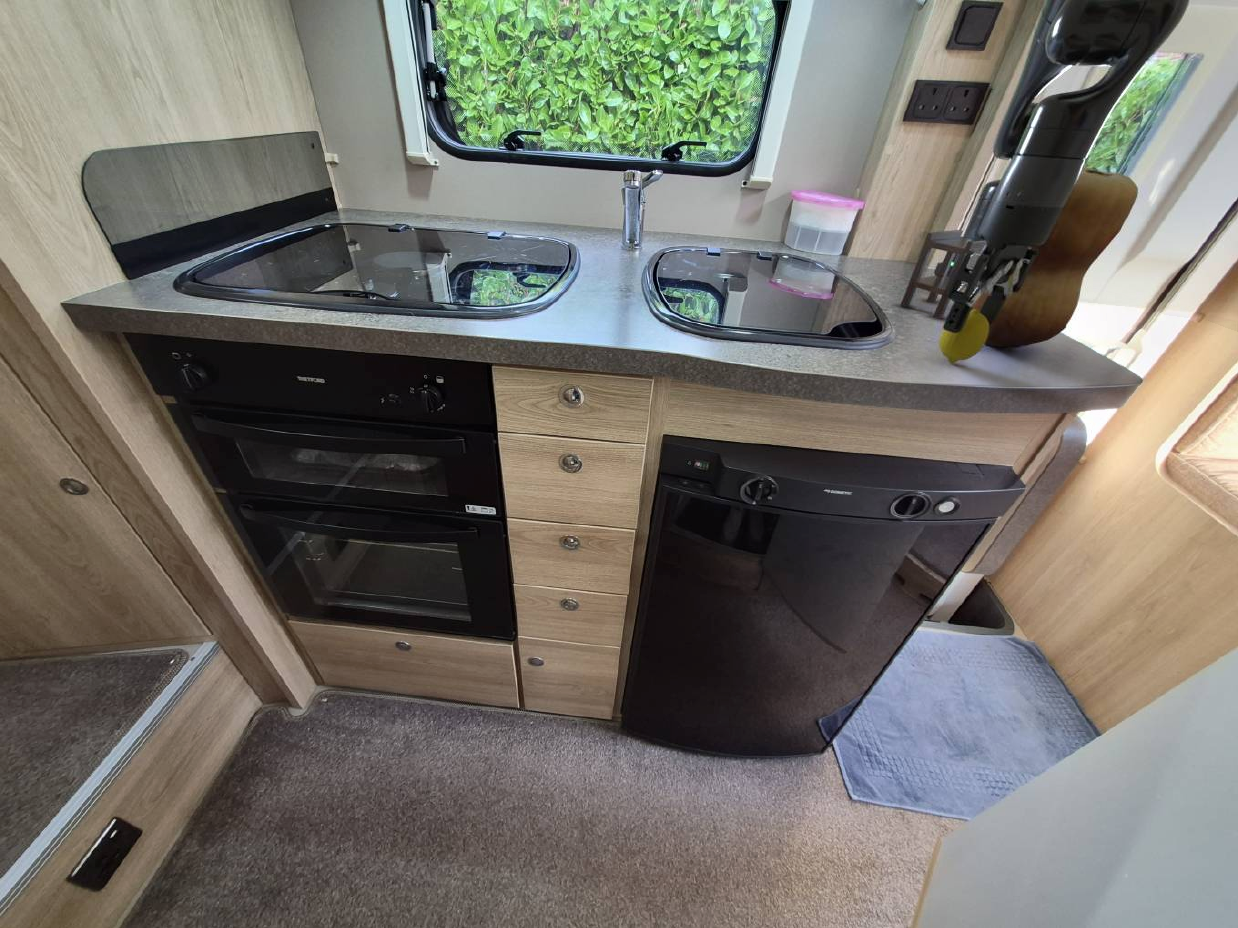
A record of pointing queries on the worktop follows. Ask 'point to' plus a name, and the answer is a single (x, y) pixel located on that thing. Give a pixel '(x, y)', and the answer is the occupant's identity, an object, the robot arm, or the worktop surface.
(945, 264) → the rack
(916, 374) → the worktop surface
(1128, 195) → the butternut squash
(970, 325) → the lemon
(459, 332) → the worktop surface
